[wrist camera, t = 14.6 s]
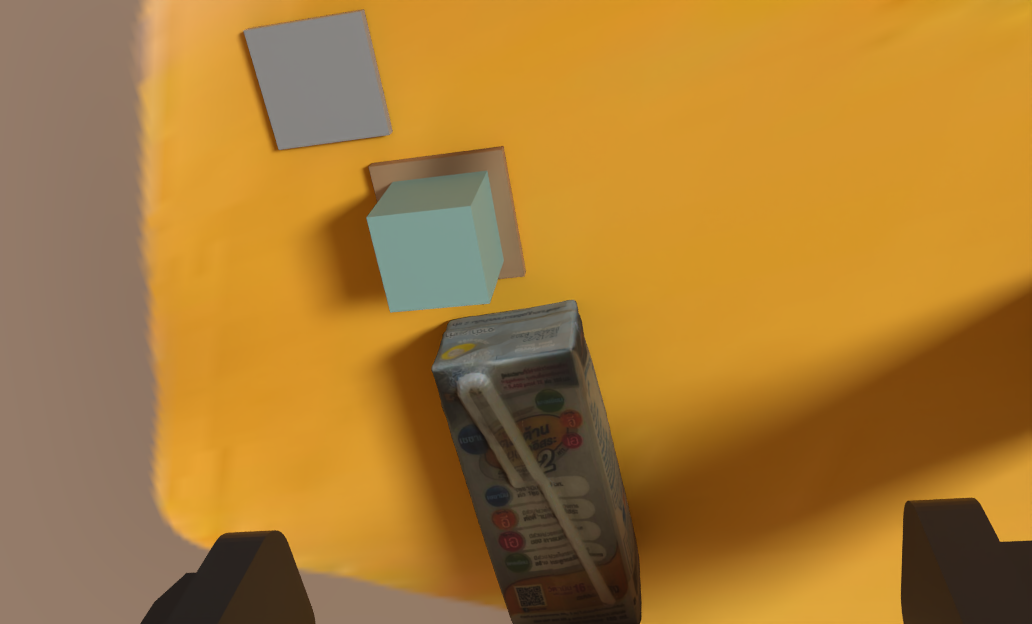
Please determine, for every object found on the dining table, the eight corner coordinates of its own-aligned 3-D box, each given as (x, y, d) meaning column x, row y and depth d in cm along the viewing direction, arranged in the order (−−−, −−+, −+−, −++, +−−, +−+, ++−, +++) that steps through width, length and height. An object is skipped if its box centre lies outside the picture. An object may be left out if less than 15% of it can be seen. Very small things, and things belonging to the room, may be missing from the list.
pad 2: (503, 146, 44) (501, 149, 44) (525, 271, 47) (524, 276, 47) (371, 163, 46) (368, 166, 45) (401, 284, 49) (399, 288, 48)
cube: (487, 170, 44) (470, 205, 40) (503, 260, 46) (489, 303, 42) (392, 181, 45) (366, 217, 41) (413, 269, 47) (390, 312, 43)
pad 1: (363, 9, 42) (360, 11, 41) (392, 131, 45) (389, 134, 44) (248, 28, 43) (243, 30, 42) (282, 146, 46) (278, 149, 45)
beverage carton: (584, 291, 48) (577, 352, 42) (645, 557, 56) (646, 638, 50) (446, 314, 49) (420, 376, 44) (524, 568, 58) (512, 649, 52)
